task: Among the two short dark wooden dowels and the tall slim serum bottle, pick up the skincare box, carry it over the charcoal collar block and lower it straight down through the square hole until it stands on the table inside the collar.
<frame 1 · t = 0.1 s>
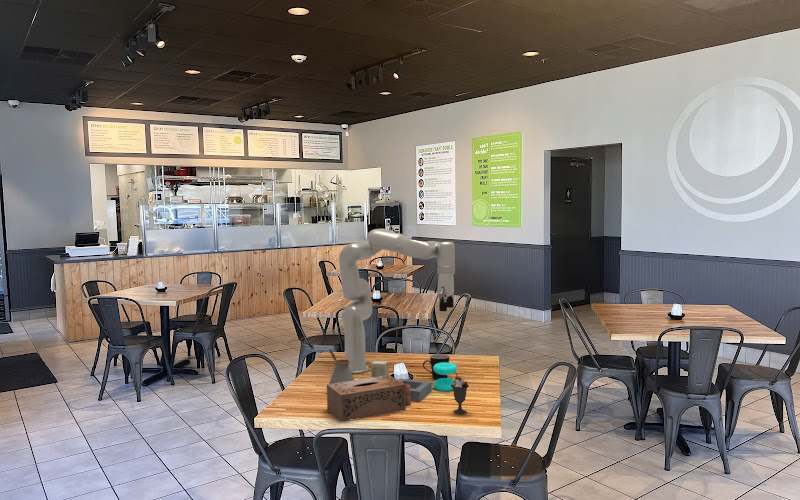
hand: (446, 309, 257), 31 cm above the table, tool pointing down, fingers open, 9 cm apart
donuts: (445, 388, 247), on the table
short walnut dowel: (354, 396, 238), on the table
collar: (409, 394, 239), on the table
sundae: (459, 412, 218), on the table
tissue box cover: (366, 411, 222), on the table
medium mahogany dowel: (406, 404, 227), on the table
skincare box: (380, 391, 244), on the table
coffee pot: (338, 389, 248), on the table
coffee mug: (436, 378, 261), on the table
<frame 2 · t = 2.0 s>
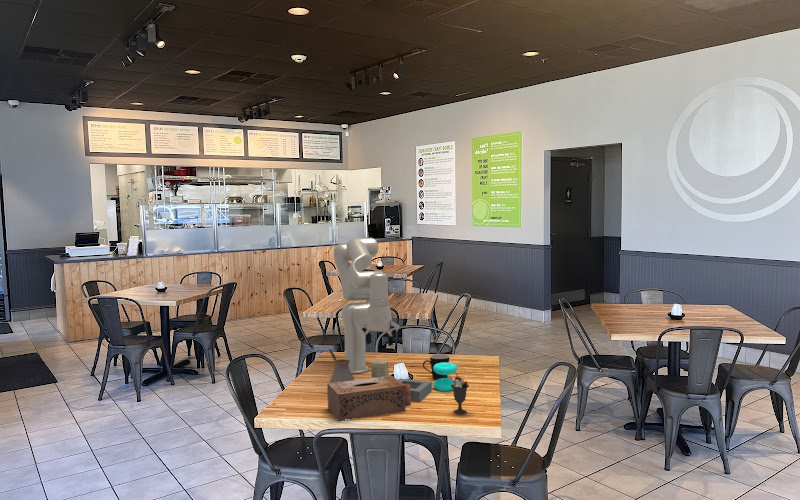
hand: (379, 344, 243), 20 cm above the table, tool pointing down, fingers open, 9 cm apart
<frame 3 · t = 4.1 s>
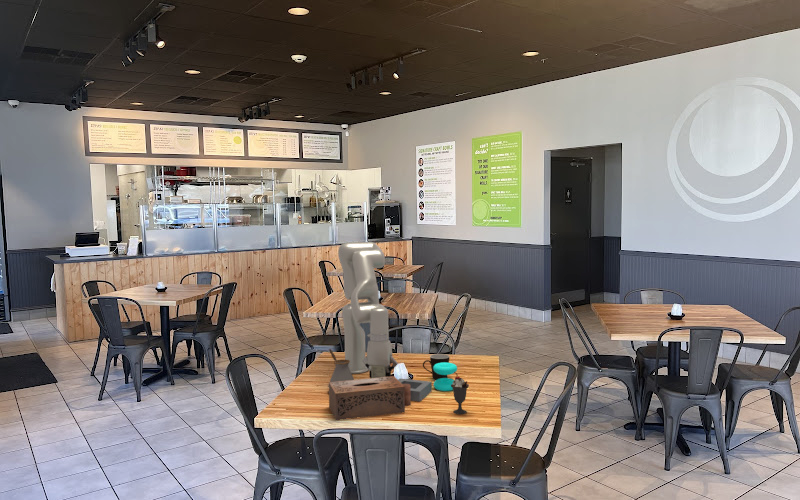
hand: (380, 380, 244), 5 cm above the table, tool pointing down, fingers closed on skincare box, 6 cm apart
skincare box: (380, 391, 244), on the table, touching gripper
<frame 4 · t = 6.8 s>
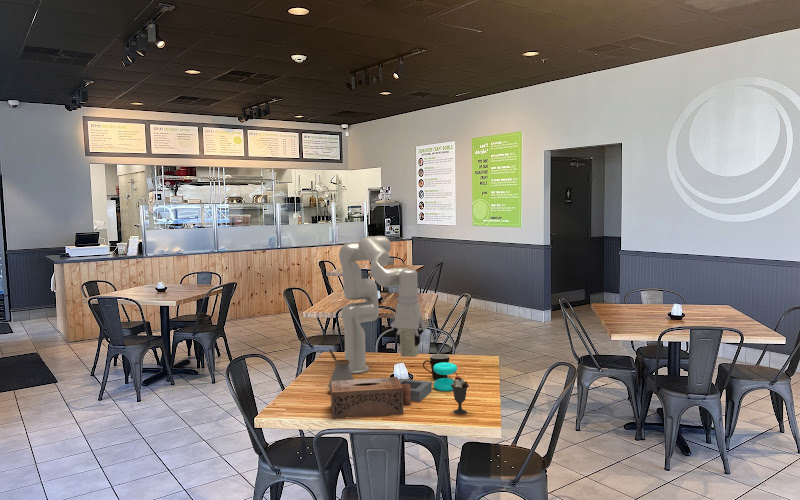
hand: (409, 344, 238), 21 cm above the table, tool pointing down, fingers closed on skincare box, 6 cm apart
skincare box: (409, 356, 238), point 16 cm above the table, touching gripper
when the fingers open (6 cm above the table, at t = 9.7 s): skincare box drops 1 cm, resting in collar.
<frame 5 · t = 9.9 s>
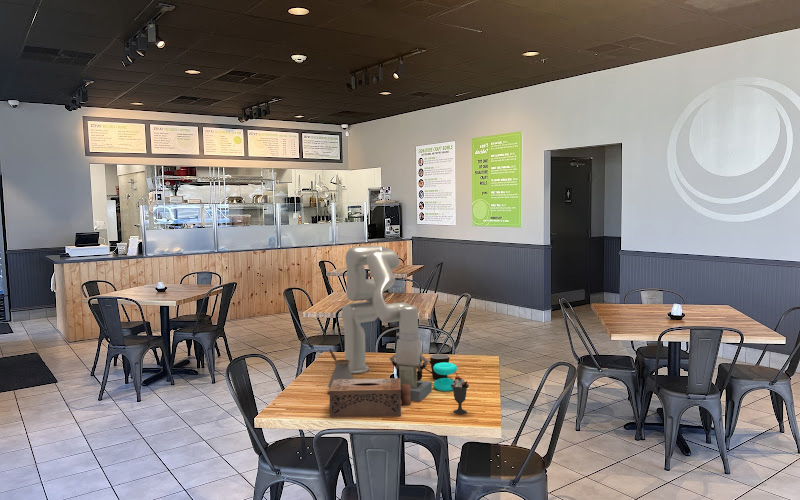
hand: (409, 378, 239), 6 cm above the table, tool pointing down, fingers open, 8 cm apart
skincare box: (408, 394, 240), resting in collar
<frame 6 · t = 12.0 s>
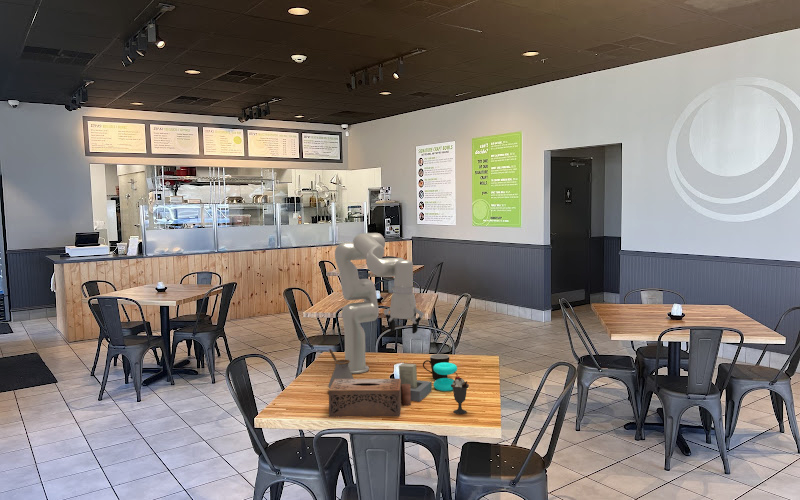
hand: (403, 331, 242), 25 cm above the table, tool pointing down, fingers open, 9 cm apart
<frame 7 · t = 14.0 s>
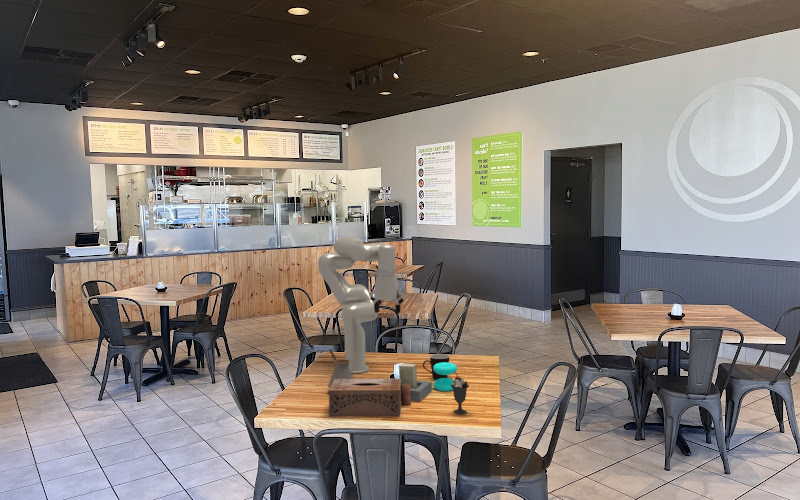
hand: (387, 313, 255), 30 cm above the table, tool pointing down, fingers open, 9 cm apart
at the end: skincare box 0.5 cm from the collar (horizontally); skincare box resting in collar; skincare box tilted 0° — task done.
